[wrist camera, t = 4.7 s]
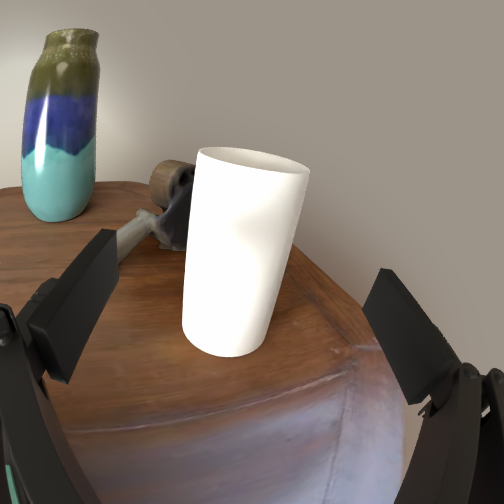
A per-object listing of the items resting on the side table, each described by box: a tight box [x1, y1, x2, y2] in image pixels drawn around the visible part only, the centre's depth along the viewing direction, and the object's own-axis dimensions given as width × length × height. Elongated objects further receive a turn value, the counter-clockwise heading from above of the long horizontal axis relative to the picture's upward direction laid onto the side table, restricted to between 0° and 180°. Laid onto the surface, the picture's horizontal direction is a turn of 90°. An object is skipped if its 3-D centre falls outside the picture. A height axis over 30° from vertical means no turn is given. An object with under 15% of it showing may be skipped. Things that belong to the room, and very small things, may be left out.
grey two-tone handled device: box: [117, 160, 196, 264], centre depth 34 cm, size 21×6×12 cm, turn 147°
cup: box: [182, 147, 310, 357], centre depth 24 cm, size 8×8×16 cm
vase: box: [21, 29, 100, 222], centre depth 34 cm, size 14×14×31 cm
